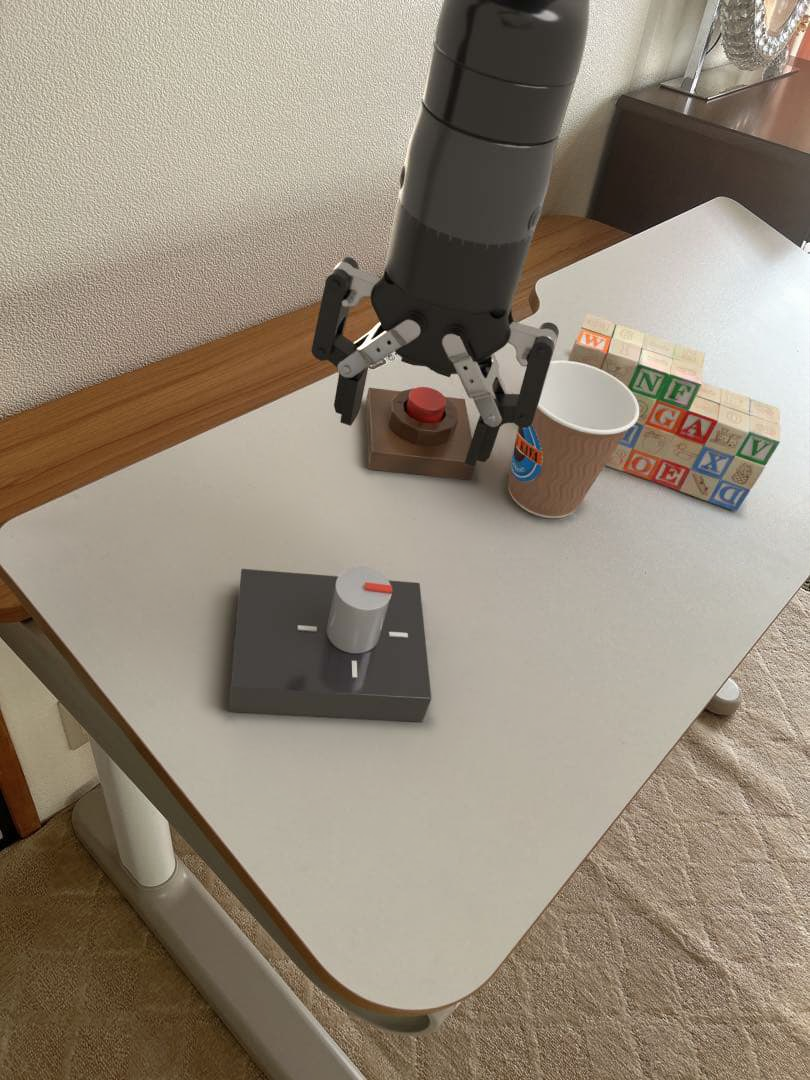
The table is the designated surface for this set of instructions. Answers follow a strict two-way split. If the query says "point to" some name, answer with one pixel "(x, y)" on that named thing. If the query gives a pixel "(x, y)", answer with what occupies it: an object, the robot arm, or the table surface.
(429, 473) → the button block
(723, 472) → the stack of blocks
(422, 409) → the button
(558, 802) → the table surface
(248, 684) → the stove panel
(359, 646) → the stove knob
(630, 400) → the coffee cup
